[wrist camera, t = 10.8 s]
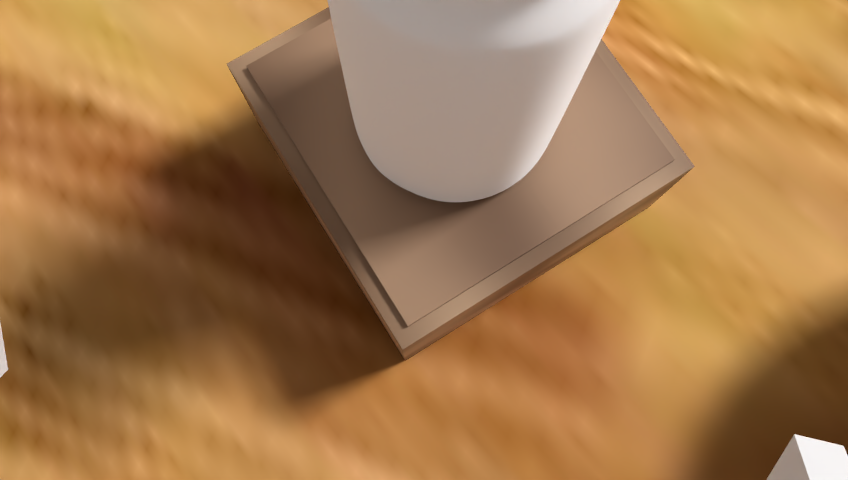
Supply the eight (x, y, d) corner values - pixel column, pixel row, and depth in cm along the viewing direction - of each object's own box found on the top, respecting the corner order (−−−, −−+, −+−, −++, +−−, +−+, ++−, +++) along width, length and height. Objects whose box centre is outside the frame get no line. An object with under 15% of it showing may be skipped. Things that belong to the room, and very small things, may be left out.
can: (312, 133, 25) (220, -119, 13) (427, -17, 26) (438, -371, 14) (481, 246, 24) (543, 87, 12) (591, 87, 25) (745, -198, 13)
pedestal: (491, -14, 32) (506, -95, 27) (648, 206, 30) (696, 164, 25) (257, 120, 30) (225, 61, 25) (405, 360, 28) (402, 349, 23)
